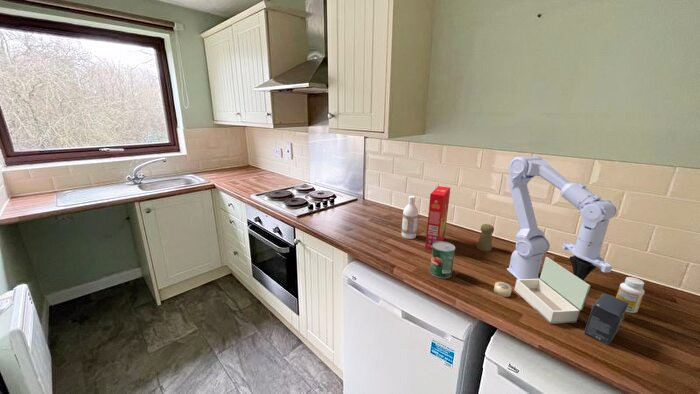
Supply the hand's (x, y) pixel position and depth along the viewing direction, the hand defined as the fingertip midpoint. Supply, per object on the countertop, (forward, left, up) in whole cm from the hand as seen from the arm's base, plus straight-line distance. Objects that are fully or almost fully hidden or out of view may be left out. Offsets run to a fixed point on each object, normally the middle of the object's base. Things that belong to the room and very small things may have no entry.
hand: (578, 280), depth 87 cm
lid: (0, -5, 0) cm, 5 cm away
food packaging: (-44, -28, -9) cm, 53 cm away
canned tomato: (-20, -35, -9) cm, 41 cm away
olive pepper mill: (-38, -8, -9) cm, 40 cm away
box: (+12, -2, -9) cm, 15 cm away
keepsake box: (0, -10, -8) cm, 13 cm away
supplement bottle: (+3, +15, -9) cm, 18 cm away
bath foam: (-52, -38, -8) cm, 65 cm away
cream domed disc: (-7, -19, -8) cm, 22 cm away
